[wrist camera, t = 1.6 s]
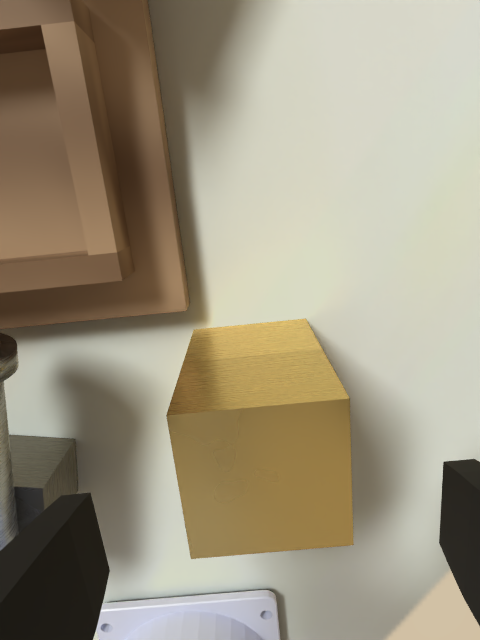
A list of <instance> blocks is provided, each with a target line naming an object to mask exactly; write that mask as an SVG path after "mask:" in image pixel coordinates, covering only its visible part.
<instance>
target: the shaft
mask: <svg viewBox="0 0 480 640" xmlns="http://www.w3.org/2000/svg"><path fill="white" fill-rule="evenodd" d="M17 368H18V352H17V343H16V341H15V340H14V339H13V338H12V337H10V336H8V335H5V334H2V333H0V551H1V550H2V549H3V548H4V547H5V546H6V545H7V544H8V543H9V542H10V541H11V540H13V539H14V538H15V537H16V536H17V535H18V534H19V533H20V532H21V531H22V530H23V529H24V528H25V527H27V526H28V525H29V524H30V523H31V522H32V521H33V520H34V519H35V518H36V517H37V516H38V515H40V514H41V513H42V512H43V511H44V510H45V509H46V508H47V507H48V506H49V505H51V504H52V503H53V502H54V501H55V500H56V499H58V498H59V497H60V496H61V495H71V494H76V493H77V491H78V485H77V463H76V442H75V439H68V438H52V437H36V436H19V435H9V430H8V420H7V410H6V400H5V390H4V380H6V379H7V378H9V377H10V376H12V375H13V374H14V373H15V372H16V370H17Z"/></svg>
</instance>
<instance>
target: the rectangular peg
mask: <svg viewBox="0 0 480 640" xmlns="http://www.w3.org/2000/svg"><path fill="white" fill-rule="evenodd" d="M166 416H167V422H168V427H169V433H170V439H171V445H172V451H173V457H174V462H175V468H176V474H177V480H178V486H179V492H180V497H181V503H182V509H183V515H184V521H185V527H186V532H187V538H188V544H189V550H190V556H191V559H196V558H208V557H219V556H231V555H243V554H254V553H266V552H278V551H289V550H301V549H313V548H324V547H336V546H348V545H353V512H352V473H351V434H350V398H349V396H348V395H347V393H346V391H345V389H344V387H343V386H342V384H341V382H340V380H339V378H338V377H337V375H336V373H335V371H334V369H333V367H332V366H331V364H330V362H329V360H328V358H327V357H326V355H325V353H324V351H323V349H322V348H321V346H320V344H319V342H318V340H317V339H316V337H315V335H314V333H313V331H312V330H311V328H310V326H309V324H308V322H307V320H306V319H298V320H288V321H278V322H267V323H257V324H247V325H237V326H226V327H216V328H206V329H196V330H194V331H193V334H192V337H191V340H190V343H189V346H188V349H187V353H186V356H185V359H184V362H183V365H182V368H181V371H180V375H179V378H178V381H177V384H176V387H175V390H174V393H173V397H172V400H171V403H170V406H169V409H168V412H167V415H166Z"/></svg>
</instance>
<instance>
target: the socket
mask: <svg viewBox="0 0 480 640" xmlns="http://www.w3.org/2000/svg"><path fill="white" fill-rule="evenodd" d="M189 304H190V300H189V293H188V286H187V279H186V272H185V264H184V257H183V250H182V243H181V236H180V229H179V221H178V214H177V207H176V200H175V193H174V186H173V178H172V171H171V164H170V157H169V150H168V143H167V136H166V128H165V121H164V114H163V107H162V100H161V93H160V85H159V78H158V71H157V64H156V57H155V50H154V42H153V35H152V28H151V21H150V14H149V7H148V0H0V329H6V328H16V327H26V326H36V325H47V324H57V323H67V322H77V321H87V320H98V319H108V318H118V317H128V316H138V315H148V314H159V313H169V312H179V311H187V309H188V306H189Z"/></svg>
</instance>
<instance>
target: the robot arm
mask: <svg viewBox="0 0 480 640" xmlns="http://www.w3.org/2000/svg"><path fill="white" fill-rule="evenodd" d="M439 543H440V546H441V548H442V550H443V553H444V555H445V557H446V560H447V562H448V564H449V566H450V569H451V571H452V573H453V575H454V578H455V580H456V582H457V584H458V586H459V589H460V591H461V593H462V595H463V597H464V599H465V601H466V603H467V604H468V606H469V608H470V610H471V612H472V613H473V615H474V617H475V619H476V620H477V622H478V624H479V625H480V462H479V461H477V460H475V459H470V460H458V461H447V462H444V465H443V483H442V502H441V521H440V539H439ZM109 571H110V570H109V566H108V562H107V558H106V554H105V550H104V546H103V542H102V538H101V534H100V530H99V525H98V521H97V517H96V513H95V509H94V505H93V501H92V497H91V493H83V494H71V495H61V496H60V497H59V498H58V499H56V500H55V501H54V502H53V503H52V504H51V505H49V506H48V507H47V508H46V509H45V510H44V511H43V512H42V513H41V514H40V515H38V516H37V517H36V518H35V519H34V520H33V521H32V522H31V523H30V524H29V525H28V526H27V527H25V528H24V529H23V530H22V531H21V532H20V533H19V534H18V535H17V536H16V537H15V538H14V539H13V540H11V541H10V542H9V543H8V544H7V545H6V546H5V547H4V548H3V549H2V550H1V551H0V640H93V637H94V634H95V631H97V635H98V638H99V640H280V631H279V621H278V610H277V600H276V596H275V594H274V593H273V592H271V591H269V590H256V591H243V592H231V593H219V594H207V595H195V596H183V597H171V598H159V599H147V600H134V601H122V602H110V603H103V599H104V594H105V590H106V585H107V580H108V576H109ZM102 603H103V604H102ZM265 610H267V611H265Z"/></svg>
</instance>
